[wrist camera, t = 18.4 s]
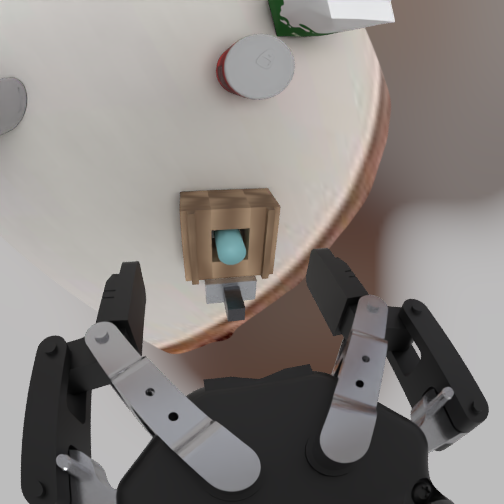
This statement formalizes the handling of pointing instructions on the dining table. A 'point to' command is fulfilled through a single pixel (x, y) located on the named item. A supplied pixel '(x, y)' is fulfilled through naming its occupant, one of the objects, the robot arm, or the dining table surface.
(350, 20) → the milk carton
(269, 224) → the socket block
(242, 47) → the canned food
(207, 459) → the robot arm
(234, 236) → the dowel
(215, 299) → the latch bar
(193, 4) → the dining table surface
